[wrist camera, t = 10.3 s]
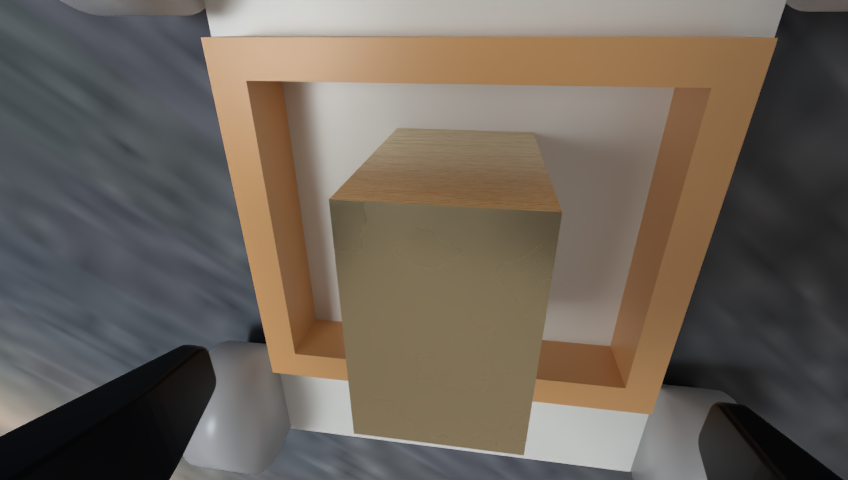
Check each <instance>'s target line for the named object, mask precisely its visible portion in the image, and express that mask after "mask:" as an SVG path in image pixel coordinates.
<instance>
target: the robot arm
mask: <svg viewBox="0 0 848 480" xmlns="http://www.w3.org/2000/svg"><path fill="white" fill-rule="evenodd" d="M215 387H216V375H215V371H214V368H213V365H212V361H211V358H210V354H209V351H208V350H207V349H206V348H205V347H203V346H196V345H182V346H180V347H178V348H176V349H174V350H172V351H170V352H168V353H166V354H164V355H162V356H160V357H158V358H156V359H154V360H152V361H150V362H148V363H146V364H144V365H142V366H140V367H138V368H136V369H134V370H132V371H130V372H128V373H126V374H124V375H122V376H120V377H118V378H116V379H114V380H112V381H110V382H108V383H106V384H104V385H102V386H100V387H98V388H96V389H94V390H92V391H90V392H88V393H86V394H84V395H82V396H80V397H78V398H76V399H74V400H72V401H70V402H68V403H66V404H64V405H62V406H60V407H58V408H56V409H54V410H52V411H50V412H48V413H46V414H44V415H42V416H40V417H38V418H36V419H34V420H32V421H30V422H28V423H26V424H24V425H22V426H20V427H18V428H16V429H14V430H12V431H10V432H8V433H6V434H5V435H3V436H1V437H0V480H169V479H170V478H171V476H172V474H173V472H174V471H175V469H176V467H177V465H178V463H179V461H180V460H181V458H182V456H183V454H184V452H185V450H186V448H187V446H188V444H189V442H190V440H191V438H192V436H193V434H194V432H195V429H196V427H197V425H198V423H199V421H200V419H201V417H202V415H203V413H204V411H205V409H206V407H207V405H208V403H209V401H210V399H211V397H212V395H213V393H214V390H215ZM698 447H699V452H700V455H701V459H702V462H703V466H704V469H705V473H706V476H707V480H843V479H842V478H840V477H839V476H838V475H836V474H835V473H834V472H832V471H831V470H830V469H828V468H827V467H826V466H824V465H823V464H822V463H821V462H819V461H818V460H817V459H815V458H814V457H813V456H811V455H810V454H809V453H807V452H806V451H805V450H803V449H802V448H801V447H799V446H798V445H797V444H795V443H794V442H793V441H791V440H790V439H789V438H788V437H786V436H785V435H784V434H782V433H781V432H780V431H778V430H777V429H776V428H774V427H773V426H772V425H770V424H769V423H768V422H766V421H765V420H764V419H762V418H761V417H760V416H759V415H757V414H756V413H755V412H753V411H752V410H751V409H749V408H748V407H746V406H744V405H741V404H736V403H727V402H715V403H714V404H713V405H712V406H711V407H710V409H709V412H708V414H707V417H706V419H705V421H704V424H703V426H702V429H701V431H700V433H699V437H698Z"/></svg>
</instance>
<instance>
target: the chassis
mask: <svg viewBox="0 0 848 480" xmlns="http://www.w3.org/2000/svg"><path fill="white" fill-rule="evenodd" d="M60 1H62V2H64V3H65V4H67V5H69V6H71V7H73V8H75V9H78V10H80V11H82V12H85V13H89V14H93V15H99V16H186V15H194V14H197V13H199V12H201V11H202V10H204V9H205V8H206V13H207V18H208V23H209V28H210V33H211V37H201V41H202V45H203V50H204V55H205V59H206V64H207V69H208V73H209V78H210V83H211V87H212V92H213V97H214V101H215V106H216V111H217V115H218V120H219V125H220V129H221V134H222V139H223V143H224V148H225V153H226V157H227V162H228V167H229V171H230V176H231V181H232V185H233V190H234V195H235V199H236V204H237V209H238V213H239V218H240V223H241V227H242V232H243V237H244V241H245V246H246V250H247V255H248V260H249V264H250V269H251V274H252V278H253V283H254V288H255V292H256V297H257V302H258V306H259V311H260V316H261V320H262V325H263V330H264V334H265V339H266V344H262V343H252V342H242V341H231V340H229V341H225V342H222V343H220V344H218V345H217V346H215V347H214V348H213V349H212V350H211V351H210V352H209V354H210V358H211V361H212V365H213V368H214V371H215V375H216V387H215V390H214V393H213V395H212V397H211V399H210V401H209V403H208V405H207V407H206V409H205V411H204V413H203V415H202V417H201V419H200V421H199V423H198V425H197V427H196V429H195V432H194V434H193V436H192V438H191V440H190V442H189V444H188V446H187V448H186V450H185V452H184V454H183V456H184V458H185V459H186V461H187V462H189V463H190V464H191V465H194V466H199V467H206V468H213V469H220V470H227V471H233V472H240V473H247V474H259V473H261V472H263V471H264V470H265V469H267V468H268V467H269V466H270V465H271V463H272V462H273V461H274V459H275V458H276V456H277V455H278V453H279V451H280V450H281V448H282V446H283V444H284V441H285V439H286V437H287V434H288V431H289V429H290V426H291V428H293V429H300V430H308V431H316V432H324V433H331V434H339V435H347V436H355V437H363V438H370V439H378V440H386V441H394V442H401V443H409V444H417V445H425V446H433V447H440V448H448V449H456V450H464V451H471V452H479V453H487V454H495V455H503V456H510V457H518V458H526V459H534V460H541V461H549V462H557V463H565V464H573V465H580V466H588V467H596V468H604V469H611V470H619V471H627V472H630V470H631V471H632V477H633V480H707V476H706V473H705V469H704V466H703V462H702V459H701V455H700V452H699V447H698V437H699V433H700V431H701V429H702V426H703V424H704V421H705V419H706V417H707V414H708V412H709V409H710V407H711V406H712V405H713V404H714V403H715V402H727V403H736V401H735V400H734V399H733V398H731V397H730V396H729V395H727V394H726V393H724V392H722V391H719V390H713V389H704V388H694V387H684V386H674V385H664V384H662V382H663V379H664V376H665V373H666V370H667V367H668V364H669V361H670V358H671V355H672V352H673V349H674V347H675V344H676V341H677V338H678V335H679V332H680V329H681V326H682V323H683V320H684V317H685V314H686V311H687V308H688V305H689V302H690V299H691V296H692V293H693V290H694V287H695V284H696V281H697V278H698V275H699V272H700V269H701V266H702V263H703V260H704V257H705V254H706V251H707V248H708V245H709V242H710V239H711V236H712V233H713V230H714V228H715V225H716V222H717V219H718V216H719V213H720V210H721V207H722V204H723V201H724V198H725V195H726V192H727V189H728V186H729V183H730V180H731V177H732V174H733V171H734V168H735V165H736V162H737V159H738V156H739V153H740V150H741V147H742V144H743V141H744V138H745V135H746V132H747V129H748V126H749V123H750V120H751V117H752V114H753V112H754V109H755V106H756V103H757V100H758V97H759V94H760V91H761V88H762V85H763V82H764V79H765V76H766V73H767V70H768V67H769V64H770V61H771V58H772V55H773V52H774V49H775V46H776V43H777V40H778V38H774V37H775V34H776V31H777V28H778V25H779V22H780V19H781V16H782V13H783V10H784V7H785V4H787V5H789V6H790V7H792V8H793V9H796V10H799V11H806V12H848V0H60ZM397 128H414V129H446V130H477V131H509V132H533V134H534V137H535V139H536V142H537V145H538V148H539V150H540V153H541V156H542V158H543V161H544V164H545V167H546V169H547V172H548V175H549V177H550V180H551V183H552V185H553V188H554V191H555V194H556V196H557V199H558V202H559V204H560V207H561V210H562V218H561V224H560V231H559V237H558V243H557V249H556V256H555V262H554V268H553V275H552V281H551V287H550V294H549V300H548V306H547V313H546V319H545V325H544V331H543V338H542V344H541V350H540V357H539V363H538V369H537V376H536V382H535V388H534V394H533V401H532V407H531V413H530V420H529V426H528V432H527V439H526V445H525V451H524V455H517V454H509V453H501V452H494V451H486V450H478V449H470V448H463V447H455V446H447V445H439V444H432V443H424V442H416V441H408V440H401V439H393V438H385V437H377V436H370V435H362V434H354V430H353V420H352V411H351V402H350V392H349V383H348V374H347V364H346V355H345V346H344V336H343V327H342V318H341V309H340V299H339V290H338V281H337V271H336V262H335V253H334V243H333V234H332V225H331V215H330V206H329V199H330V198H331V197H332V195H333V194H334V193H335V192H336V191H337V190H338V189H339V188H340V187H341V186H342V185H343V184H344V183H345V182H346V181H347V180H348V179H349V178H350V177H351V176H352V175H353V174H354V173H355V172H356V170H357V169H358V168H359V167H360V166H361V165H362V164H363V163H364V162H365V161H366V160H367V159H368V158H369V157H370V156H371V155H372V154H373V153H374V152H375V151H376V150H377V149H378V148H379V146H380V145H381V144H382V143H383V142H384V141H385V140H386V139H387V138H388V137H389V136H390V135H391V134H392V133H393V132H394V131H395V130H396V129H397ZM736 404H737V403H736Z"/></svg>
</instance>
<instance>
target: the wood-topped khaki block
mask: <svg viewBox="0 0 848 480" xmlns="http://www.w3.org/2000/svg"><path fill="white" fill-rule="evenodd" d="M329 206H330V215H331V225H332V234H333V243H334V253H335V262H336V271H337V281H338V290H339V299H340V309H341V318H342V327H343V336H344V346H345V355H346V364H347V374H348V383H349V392H350V402H351V411H352V420H353V430H354V434H362V435H370V436H377V437H385V438H393V439H401V440H408V441H416V442H424V443H432V444H439V445H447V446H455V447H463V448H470V449H478V450H486V451H494V452H501V453H509V454H517V455H524V451H525V445H526V439H527V432H528V426H529V420H530V413H531V407H532V401H533V394H534V388H535V382H536V376H537V369H538V363H539V357H540V350H541V344H542V338H543V331H544V325H545V319H546V313H547V306H548V300H549V294H550V287H551V281H552V275H553V268H554V262H555V256H556V249H557V243H558V237H559V231H560V224H561V218H562V210H561V207H560V204H559V202H558V199H557V196H556V194H555V191H554V188H553V185H552V183H551V180H550V177H549V175H548V172H547V169H546V167H545V164H544V161H543V158H542V156H541V153H540V150H539V148H538V145H537V142H536V139H535V137H534V134H533V132H509V131H477V130H446V129H414V128H397V129H396V130H395V131H394V132H393V133H392V134H391V135H390V136H389V137H388V138H387V139H386V140H385V141H384V142H383V143H382V144H381V145H380V146H379V148H378V149H377V150H376V151H375V152H374V153H373V154H372V155H371V156H370V157H369V158H368V159H367V160H366V161H365V162H364V163H363V164H362V165H361V166H360V167H359V168H358V169H357V170H356V172H355V173H354V174H353V175H352V176H351V177H350V178H349V179H348V180H347V181H346V182H345V183H344V184H343V185H342V186H341V187H340V188H339V189H338V190H337V191H336V192H335V193H334V194H333V195H332V197H331V198H330V199H329Z"/></svg>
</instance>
